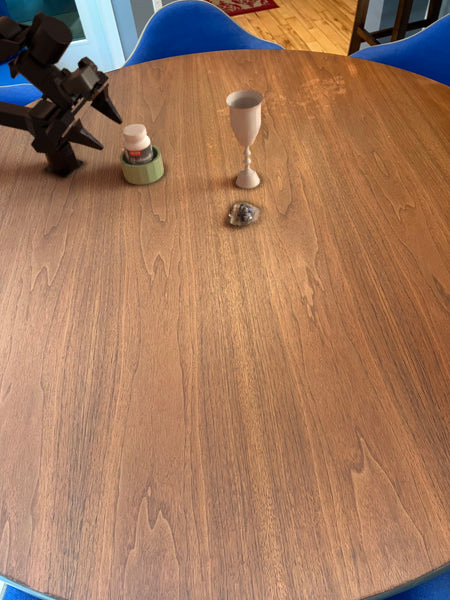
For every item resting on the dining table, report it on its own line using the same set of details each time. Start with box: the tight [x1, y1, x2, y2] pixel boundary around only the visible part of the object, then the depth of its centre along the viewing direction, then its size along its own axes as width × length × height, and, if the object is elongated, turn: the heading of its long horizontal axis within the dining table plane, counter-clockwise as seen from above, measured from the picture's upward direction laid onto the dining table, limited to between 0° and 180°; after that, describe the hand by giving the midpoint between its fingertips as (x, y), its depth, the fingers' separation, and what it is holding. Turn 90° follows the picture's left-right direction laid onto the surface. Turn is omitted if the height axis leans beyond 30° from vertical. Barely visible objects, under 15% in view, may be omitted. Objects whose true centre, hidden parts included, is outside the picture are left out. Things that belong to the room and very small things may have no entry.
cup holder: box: [119, 144, 165, 186], centre depth 104 cm, size 9×9×4 cm
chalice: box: [225, 89, 264, 190], centre depth 94 cm, size 7×7×18 cm
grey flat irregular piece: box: [227, 202, 261, 227], centre depth 93 cm, size 7×8×2 cm
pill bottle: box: [122, 123, 154, 165], centre depth 102 cm, size 6×6×10 cm
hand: (112, 135), depth 100 cm, fingers open, 9 cm apart
